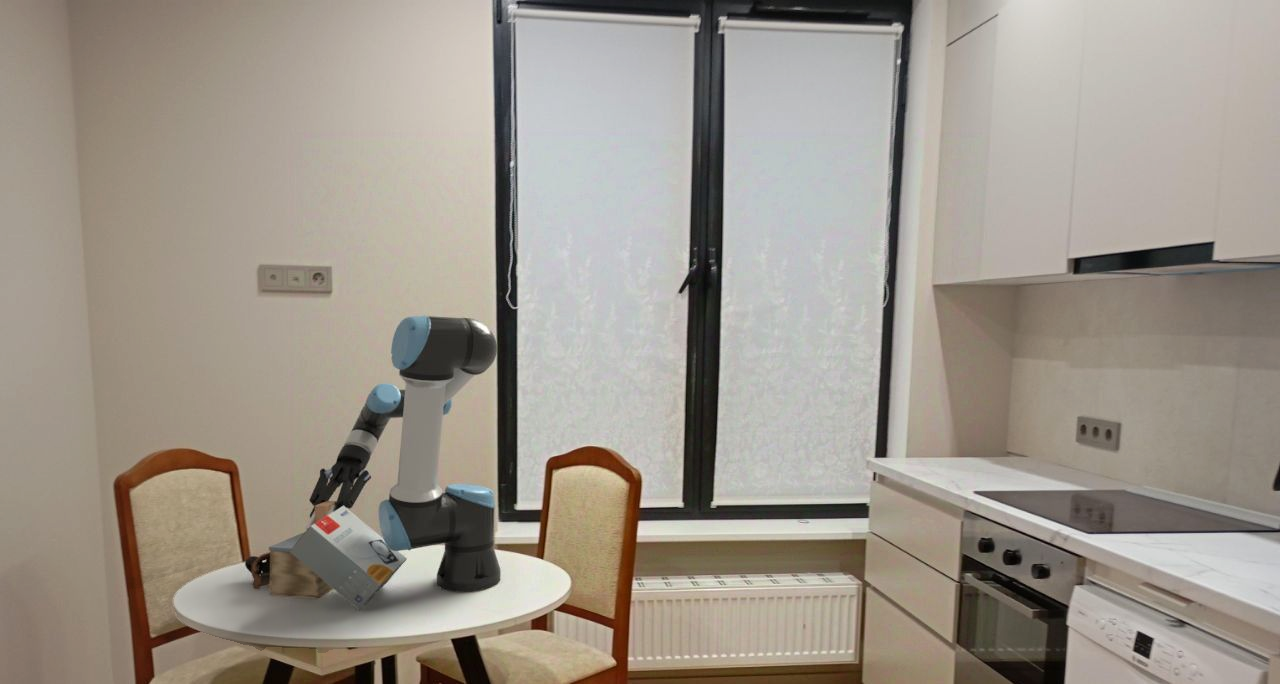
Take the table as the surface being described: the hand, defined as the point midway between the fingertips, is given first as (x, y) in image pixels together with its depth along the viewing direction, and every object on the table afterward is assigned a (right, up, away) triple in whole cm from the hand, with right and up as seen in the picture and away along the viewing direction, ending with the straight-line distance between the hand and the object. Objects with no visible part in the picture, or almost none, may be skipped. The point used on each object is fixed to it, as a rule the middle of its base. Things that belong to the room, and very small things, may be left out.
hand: (316, 531), depth 158 cm
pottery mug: (-12, -13, +1) cm, 18 cm away
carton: (0, -13, -1) cm, 13 cm away
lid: (0, -2, -1) cm, 3 cm away
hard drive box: (+20, -9, -9) cm, 24 cm away
